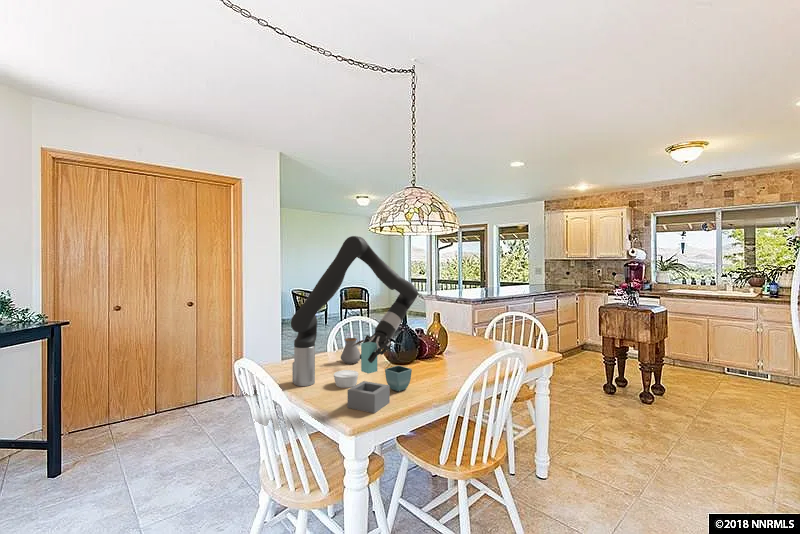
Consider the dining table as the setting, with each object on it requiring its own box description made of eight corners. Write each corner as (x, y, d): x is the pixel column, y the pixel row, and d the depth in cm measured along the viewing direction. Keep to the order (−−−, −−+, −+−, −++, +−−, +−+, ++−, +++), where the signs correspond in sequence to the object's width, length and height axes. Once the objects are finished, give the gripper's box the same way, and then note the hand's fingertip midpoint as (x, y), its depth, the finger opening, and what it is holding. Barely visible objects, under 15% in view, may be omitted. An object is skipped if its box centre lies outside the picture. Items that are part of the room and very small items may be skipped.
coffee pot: (337, 361, 219) (337, 334, 218) (355, 358, 225) (355, 332, 224) (353, 370, 200) (353, 341, 200) (373, 367, 207) (373, 339, 206)
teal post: (361, 371, 153) (361, 343, 153) (370, 368, 156) (369, 341, 156) (368, 373, 150) (368, 345, 150) (377, 371, 153) (377, 343, 153)
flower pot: (384, 389, 172) (384, 368, 172) (398, 384, 178) (398, 365, 178) (397, 394, 166) (398, 373, 166) (412, 389, 172) (412, 369, 172)
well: (347, 407, 150) (347, 389, 150) (363, 397, 161) (363, 381, 161) (374, 413, 145) (374, 394, 145) (389, 402, 156) (389, 385, 156)
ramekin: (334, 389, 171) (334, 377, 171) (332, 382, 182) (332, 370, 182) (360, 387, 174) (360, 376, 174) (356, 380, 185) (356, 369, 185)
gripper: (372, 317, 163) (348, 351, 155) (395, 321, 153) (372, 358, 145) (381, 328, 167) (359, 362, 159) (405, 333, 157) (382, 369, 148)
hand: (365, 360), depth 152 cm, fingers closed on teal post, 4 cm apart
